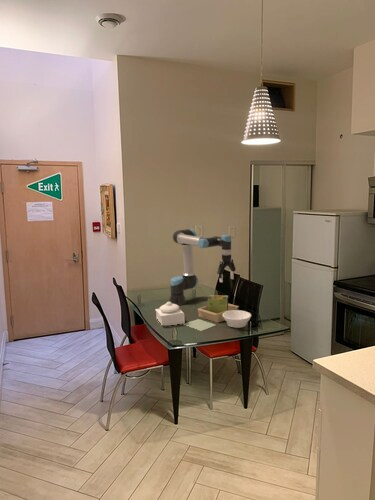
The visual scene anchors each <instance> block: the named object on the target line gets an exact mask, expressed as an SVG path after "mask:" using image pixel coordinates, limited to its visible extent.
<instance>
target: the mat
mask: <svg viewBox="0 0 375 500" xmlns="http://www.w3.org/2000/svg"><path fill="white" fill-rule="evenodd" d="M182 325H183V326H185V325H186V327H188V326H189V327H188V328H191V329H193V328H194V330H196V329H197V331H199V332H203V331H206V330H208V329H210V328H213V327H216V326H217V324H215V323H212V322H209V321H205V320H202V319H199V318H196V319H195V320H191V321H188V322H186V323H185V324H182Z"/></svg>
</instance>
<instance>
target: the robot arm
mask: <svg viewBox="0 0 375 500" xmlns="http://www.w3.org/2000/svg"><path fill="white" fill-rule="evenodd" d="M172 240H173V242H174V243H175V244H179V245H181V246H182V253H183V254H182V255H183V257H182V259H183V273H182V275H178V276H173V277H171V279H170V280H169V281H170V282H169V283H170V296H169V300H168V302H171V303H172V304H176V305H178V306H183V305H186V304H187V300H186V297H185V292H184V291H187V290H192V289H194V288H196V287H198V283H199V278H198V277H197V275H196V274H195V272H194V252H193V250H194V249H193V247H194V246H196V247H199V248H201V249H207V248H213V247H221V260H222V261H219V265H218V268H217V272H216V274H218V278H219V283H223V282H224V280H223V278H224V275H223V273H224V271H225V269H226V268H227V267H228V268H229V269H230V273H229V274H230V277H229V278H230V280H235V279H234V274H235V271H236V267H235V266H236V265H235V263H234V259H232V236H231V235H230V234H222V235H221V236H217V235H215V236H210V237H202V236H197V233H196V231H195V230H194V229H191V228H189V229H179V230H176V231H175V232H173V234H172Z"/></svg>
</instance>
